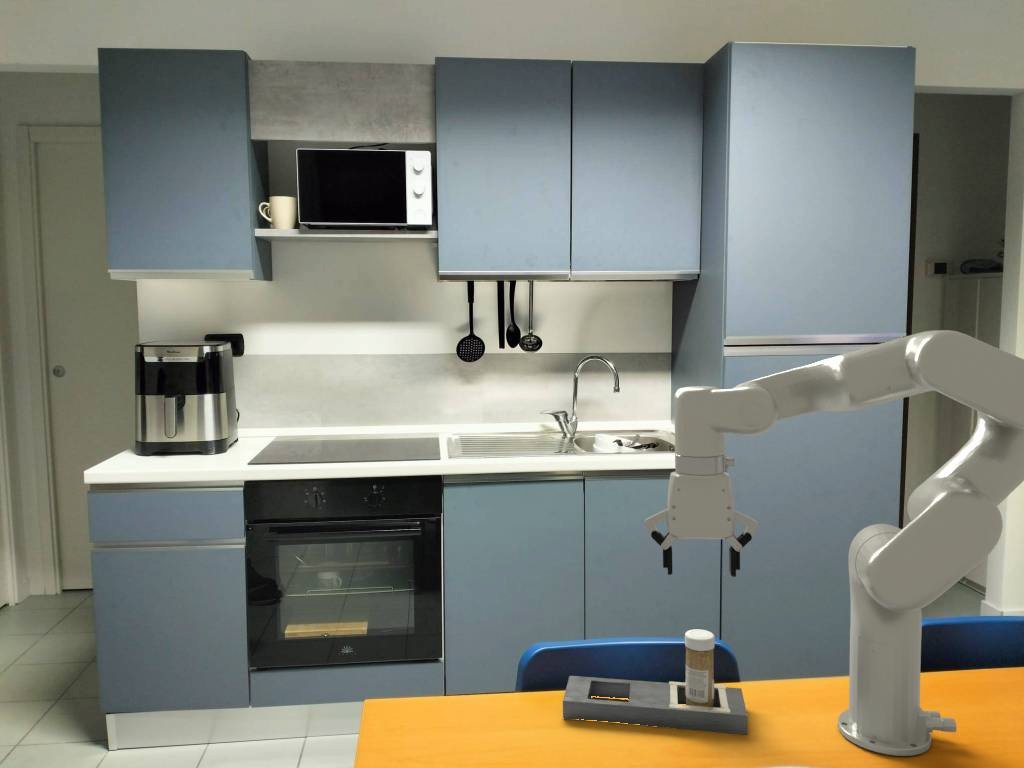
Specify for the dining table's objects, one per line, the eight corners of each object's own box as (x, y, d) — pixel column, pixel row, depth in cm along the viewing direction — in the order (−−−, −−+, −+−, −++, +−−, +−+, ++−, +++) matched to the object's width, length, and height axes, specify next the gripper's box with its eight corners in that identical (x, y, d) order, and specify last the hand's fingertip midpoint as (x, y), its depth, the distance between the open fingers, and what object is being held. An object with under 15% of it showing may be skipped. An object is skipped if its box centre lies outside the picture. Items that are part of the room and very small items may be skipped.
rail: (741, 706, 124) (741, 686, 123) (747, 734, 115) (747, 713, 114) (569, 692, 129) (569, 673, 129) (563, 719, 120) (562, 698, 120)
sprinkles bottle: (719, 716, 120) (720, 633, 120) (704, 727, 117) (704, 641, 116) (695, 706, 124) (695, 625, 123) (678, 716, 120) (678, 633, 120)
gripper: (754, 461, 121) (755, 567, 122) (643, 461, 124) (645, 564, 125) (761, 469, 113) (761, 582, 114) (643, 469, 117) (645, 579, 118)
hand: (701, 573), depth 120 cm, fingers open, 9 cm apart
